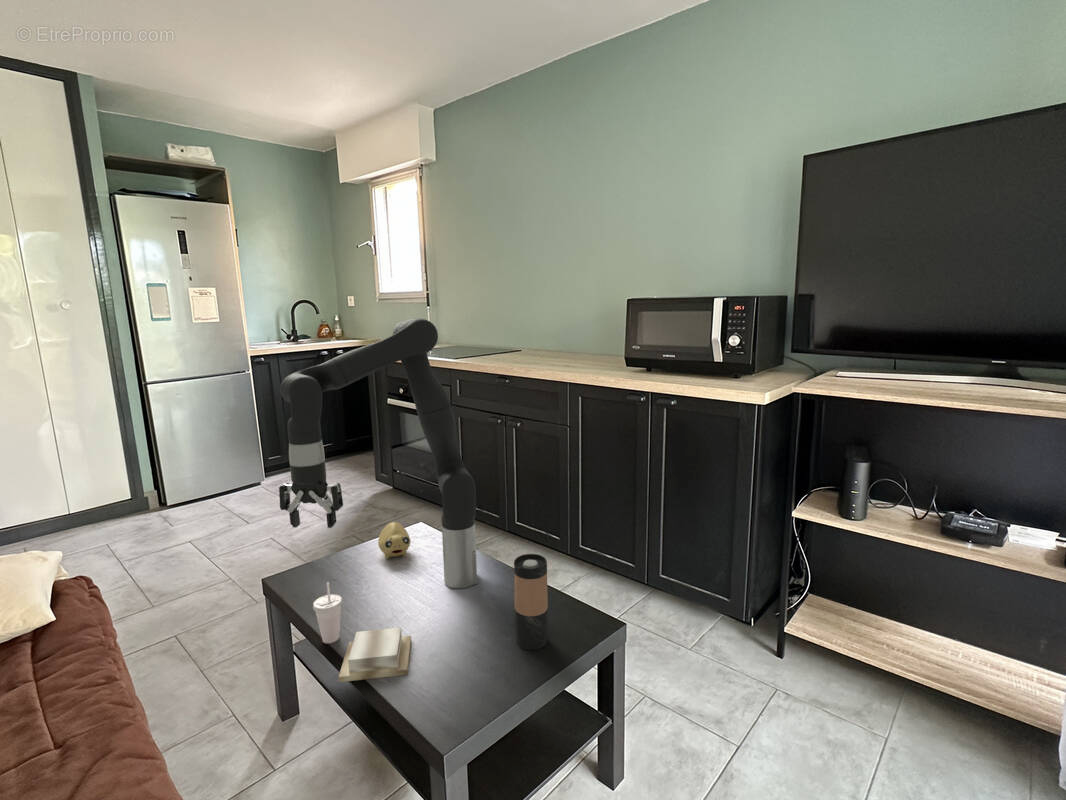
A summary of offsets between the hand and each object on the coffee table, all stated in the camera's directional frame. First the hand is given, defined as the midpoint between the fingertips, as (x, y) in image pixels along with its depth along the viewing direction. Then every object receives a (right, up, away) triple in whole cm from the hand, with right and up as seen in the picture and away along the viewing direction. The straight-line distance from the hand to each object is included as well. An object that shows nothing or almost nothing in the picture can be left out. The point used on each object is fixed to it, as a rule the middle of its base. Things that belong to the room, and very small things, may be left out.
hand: (313, 526), depth 126 cm
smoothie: (+4, -27, +1) cm, 27 cm away
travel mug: (+52, -27, -1) cm, 58 cm away
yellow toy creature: (+9, -20, +42) cm, 47 cm away
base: (+17, -28, -7) cm, 34 cm away
